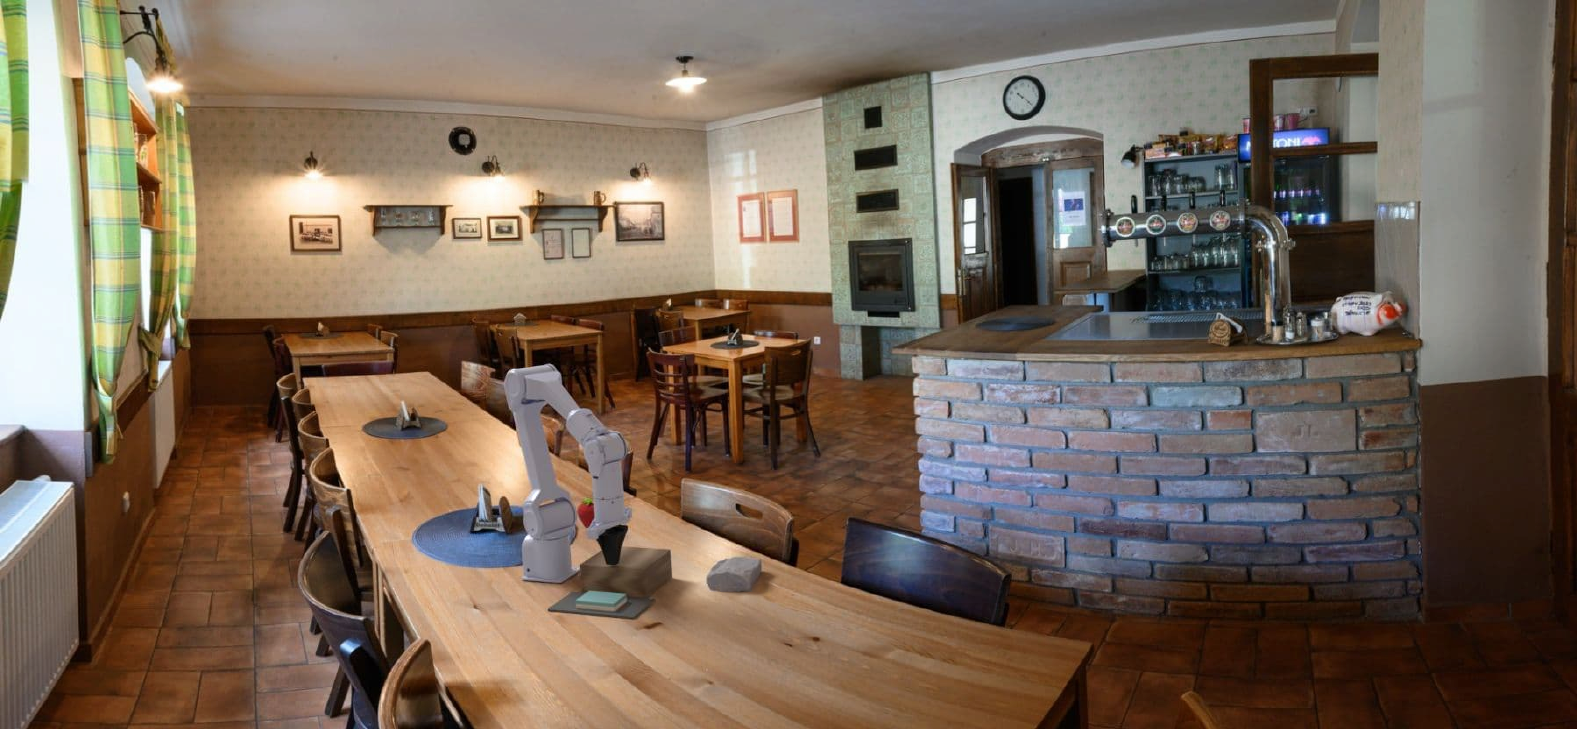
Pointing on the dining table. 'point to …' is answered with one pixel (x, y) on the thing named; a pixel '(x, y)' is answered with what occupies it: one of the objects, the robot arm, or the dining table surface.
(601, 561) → the riser
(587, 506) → the strawberry
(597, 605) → the teal and white sponge
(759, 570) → the stone block
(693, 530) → the dining table surface
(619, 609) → the mat
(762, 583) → the dining table surface
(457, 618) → the dining table surface
